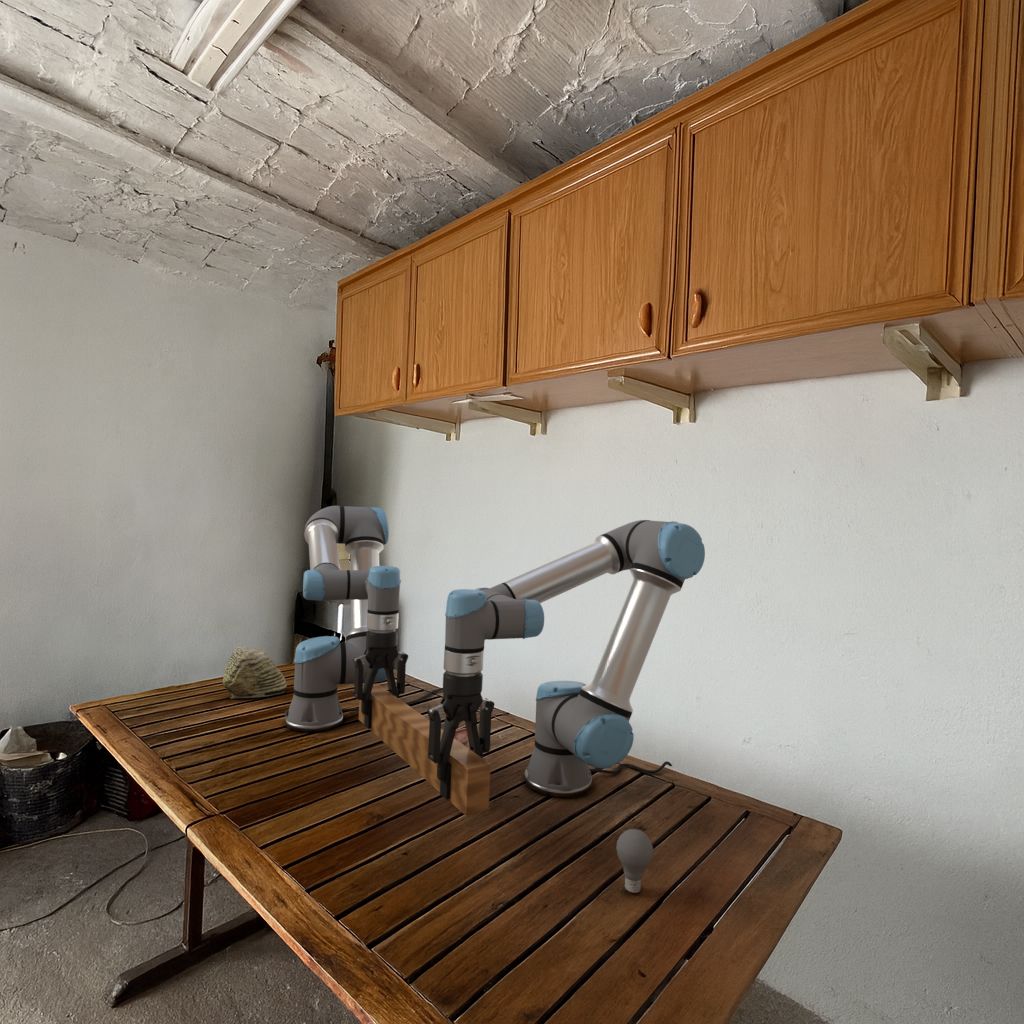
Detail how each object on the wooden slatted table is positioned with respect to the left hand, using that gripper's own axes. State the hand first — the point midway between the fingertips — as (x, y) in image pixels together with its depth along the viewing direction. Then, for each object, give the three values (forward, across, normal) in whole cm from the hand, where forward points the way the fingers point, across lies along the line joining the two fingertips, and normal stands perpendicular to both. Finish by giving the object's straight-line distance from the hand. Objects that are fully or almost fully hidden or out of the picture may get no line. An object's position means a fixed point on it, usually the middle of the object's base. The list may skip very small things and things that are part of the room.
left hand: (378, 724), depth 155 cm
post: (+1, 0, -20) cm, 20 cm away
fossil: (+8, -16, +62) cm, 65 cm away
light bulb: (+8, +18, -70) cm, 73 cm away
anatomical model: (+8, +18, -2) cm, 19 cm away
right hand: (0, 0, -41) cm, 41 cm away
